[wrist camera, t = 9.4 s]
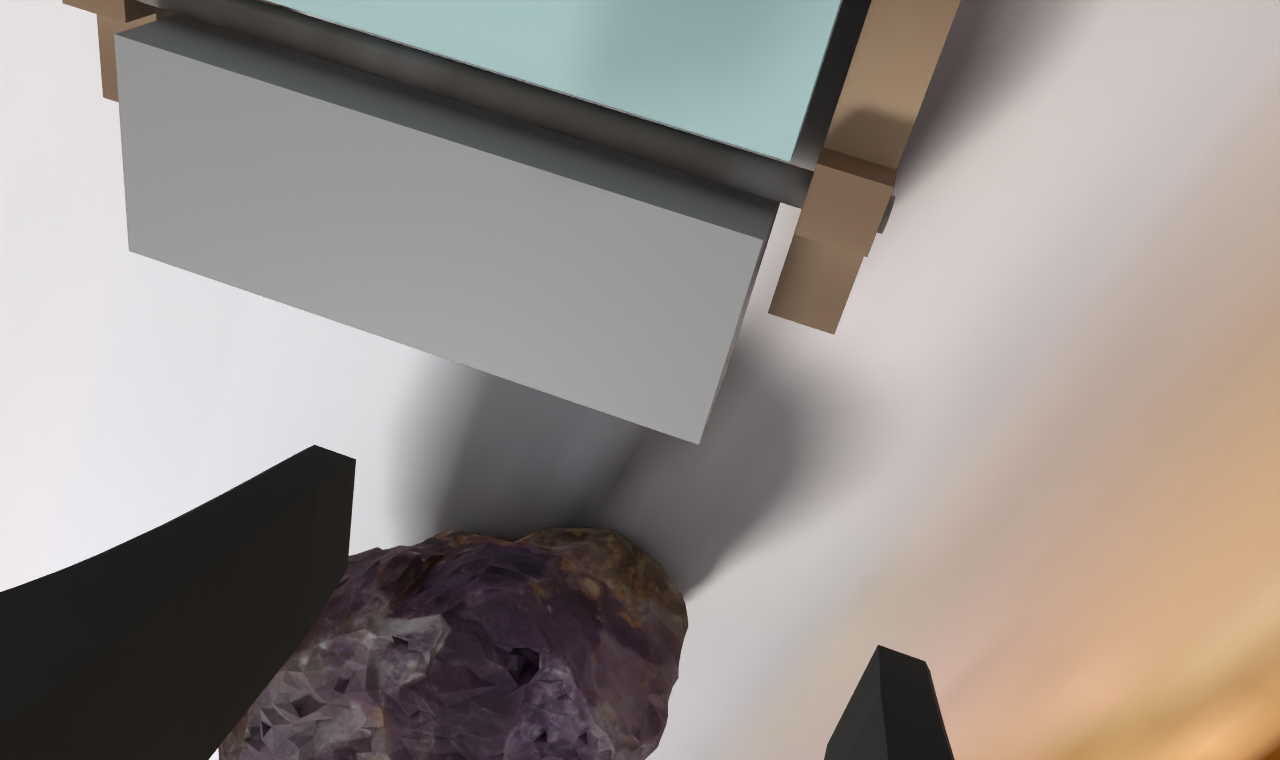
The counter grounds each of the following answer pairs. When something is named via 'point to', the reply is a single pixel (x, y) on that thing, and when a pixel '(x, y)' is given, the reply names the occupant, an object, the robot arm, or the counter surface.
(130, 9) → the frame
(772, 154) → the trapdoor
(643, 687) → the rock
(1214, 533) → the counter surface
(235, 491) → the robot arm
